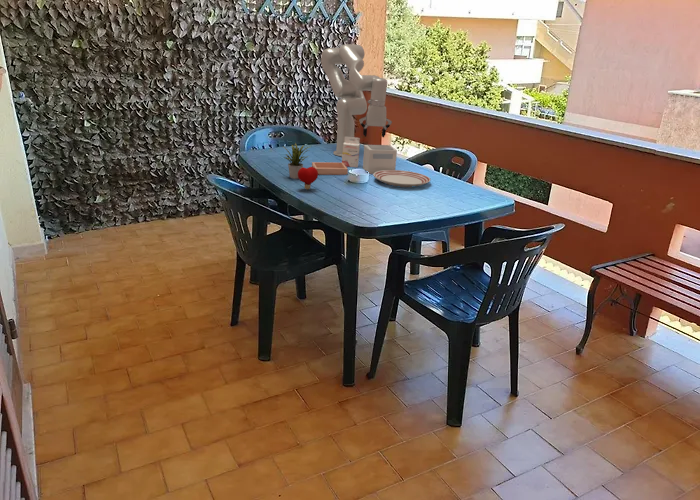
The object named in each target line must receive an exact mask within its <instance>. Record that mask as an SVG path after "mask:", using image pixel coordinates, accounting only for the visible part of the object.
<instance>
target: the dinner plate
mask: <svg viewBox="0 0 700 500" xmlns="http://www.w3.org/2000/svg"><path fill="white" fill-rule="evenodd" d="M372 175H373V177H374V179H376V180H378V181H379V182H382V183H384V184H385V183H386V185H388V186H391V185H393V186H392V187H397V186H400V187H399V188H413V187H412V186H416V187H419V186H423V185H426V184H428V183H429V182H430V181H431V178H430V177H429V176H428V175H425V174H422V173H419V172H413V171H410V170H409V171H408V170H400V169H398V170H397V169H395V170H382V171H377V172H375V173H374V174H372Z"/></svg>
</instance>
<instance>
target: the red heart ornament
mask: <svg viewBox="0 0 700 500" xmlns="http://www.w3.org/2000/svg"><path fill="white" fill-rule="evenodd" d="M298 178H299V179H298V180H299V181H301V183H304V189H305V190H306V191H308V190H311V185H312V184H313V183H314V182H315V181H316V180H317V179H318V178H319V175H318V171H317V169H316V168H314V167H312V166H310V167H309V166H308V167H304V166H303V168H301V169H300V170H299V171H298Z"/></svg>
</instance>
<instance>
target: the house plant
mask: <svg viewBox="0 0 700 500" xmlns="http://www.w3.org/2000/svg"><path fill="white" fill-rule="evenodd" d="M294 143H295V144H291V153H292V154H291V153H290V151H289V150H288V149H287V148H286V147H285V146H281V147H282V148H284V149H285V150H286V152H287V153H288V154H289V155H288V154H286V153H285V156H286V157H283V158H284V159H286V160H287V161H288V162H289V163H288V164H287V166H288V173H289V178H291V179H294V180H295V179H297V180H299V178H298V171H299V170H300V169H301V168H303V167H304V164H303V163H302V162H304V161H305V159H306V158H309V155H307V156H304V154H306V152H308V151H311V150H308V149H309V148H310V146H307V147H305V144H303V145H302V146H301V147H298V145H297V143H296V142H294ZM304 147H305V148H304Z"/></svg>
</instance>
